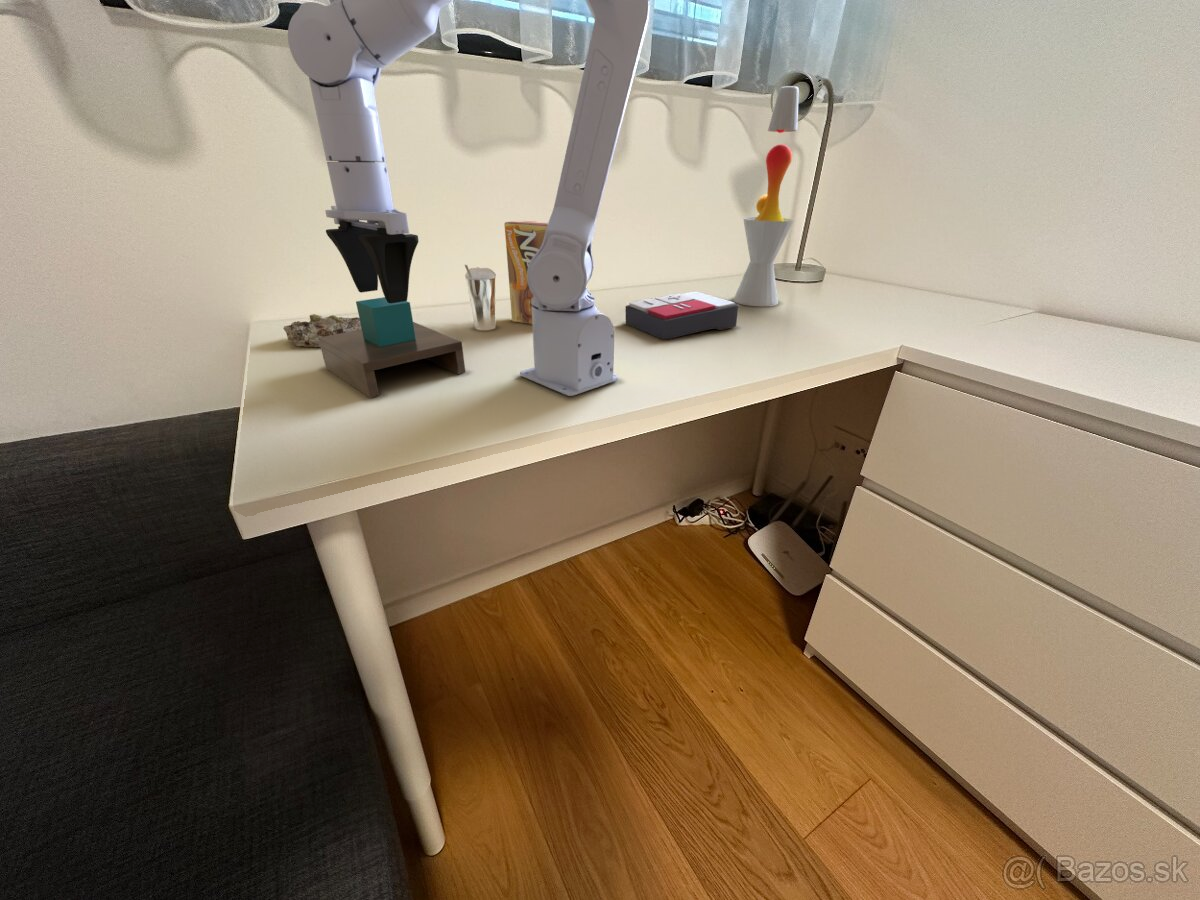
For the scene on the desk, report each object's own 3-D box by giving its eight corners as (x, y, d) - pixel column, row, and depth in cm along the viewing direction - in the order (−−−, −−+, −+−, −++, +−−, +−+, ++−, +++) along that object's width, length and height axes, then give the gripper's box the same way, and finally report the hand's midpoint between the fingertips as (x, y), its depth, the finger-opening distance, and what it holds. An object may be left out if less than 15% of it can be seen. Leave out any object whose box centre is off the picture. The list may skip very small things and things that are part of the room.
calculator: (624, 300, 83) (695, 287, 90) (624, 326, 86) (694, 312, 92) (665, 315, 75) (740, 300, 82) (664, 344, 77) (737, 326, 84)
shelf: (465, 372, 63) (462, 341, 62) (370, 398, 56) (363, 363, 54) (415, 349, 71) (410, 320, 70) (325, 368, 64) (317, 337, 62)
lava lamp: (788, 305, 98) (829, 84, 82) (745, 307, 97) (779, 81, 80) (764, 295, 106) (798, 91, 89) (724, 297, 104) (751, 89, 87)
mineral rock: (286, 336, 68) (277, 307, 72) (293, 364, 71) (283, 335, 75) (372, 328, 73) (358, 302, 78) (375, 354, 76) (361, 327, 81)
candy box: (569, 322, 85) (567, 222, 78) (557, 328, 82) (554, 224, 74) (523, 316, 88) (517, 219, 81) (510, 322, 85) (503, 221, 77)
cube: (416, 339, 62) (410, 302, 60) (379, 347, 59) (372, 308, 57) (398, 332, 65) (392, 295, 62) (363, 339, 62) (355, 301, 60)
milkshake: (461, 330, 80) (453, 263, 75) (483, 322, 84) (477, 258, 79) (484, 334, 78) (477, 266, 73) (505, 326, 82) (500, 261, 78)
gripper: (291, 161, 55) (323, 291, 61) (345, 161, 46) (375, 313, 52) (357, 162, 59) (380, 283, 66) (418, 163, 50) (437, 302, 57)
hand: (382, 296), depth 59 cm, fingers open, 7 cm apart
